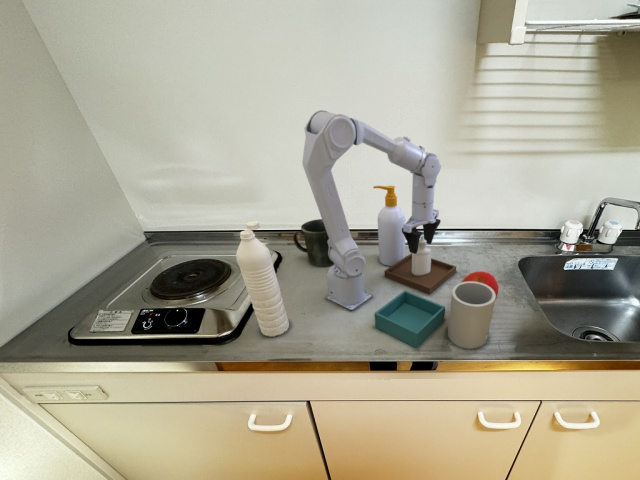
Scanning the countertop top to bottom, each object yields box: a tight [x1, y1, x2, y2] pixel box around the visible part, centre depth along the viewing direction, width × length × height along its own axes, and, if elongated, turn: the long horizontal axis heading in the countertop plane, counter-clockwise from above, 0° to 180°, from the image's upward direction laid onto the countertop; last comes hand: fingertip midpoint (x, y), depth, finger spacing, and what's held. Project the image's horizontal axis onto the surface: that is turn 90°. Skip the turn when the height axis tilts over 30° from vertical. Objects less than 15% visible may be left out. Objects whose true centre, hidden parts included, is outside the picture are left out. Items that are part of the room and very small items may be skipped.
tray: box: [383, 252, 457, 295], centre depth 96 cm, size 16×15×2 cm
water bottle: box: [235, 220, 290, 337], centre depth 70 cm, size 9×6×25 cm
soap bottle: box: [372, 185, 406, 267], centre depth 97 cm, size 9×9×24 cm
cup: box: [447, 281, 497, 350], centre depth 71 cm, size 9×9×12 cm
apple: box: [461, 270, 499, 301], centre depth 78 cm, size 9×9×12 cm
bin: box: [374, 290, 446, 349], centre depth 76 cm, size 12×12×4 cm
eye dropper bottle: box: [412, 235, 432, 276], centre depth 93 cm, size 4×6×12 cm
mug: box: [292, 218, 334, 267], centre depth 101 cm, size 11×15×12 cm
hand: (420, 247), depth 91 cm, fingers open, 7 cm apart
